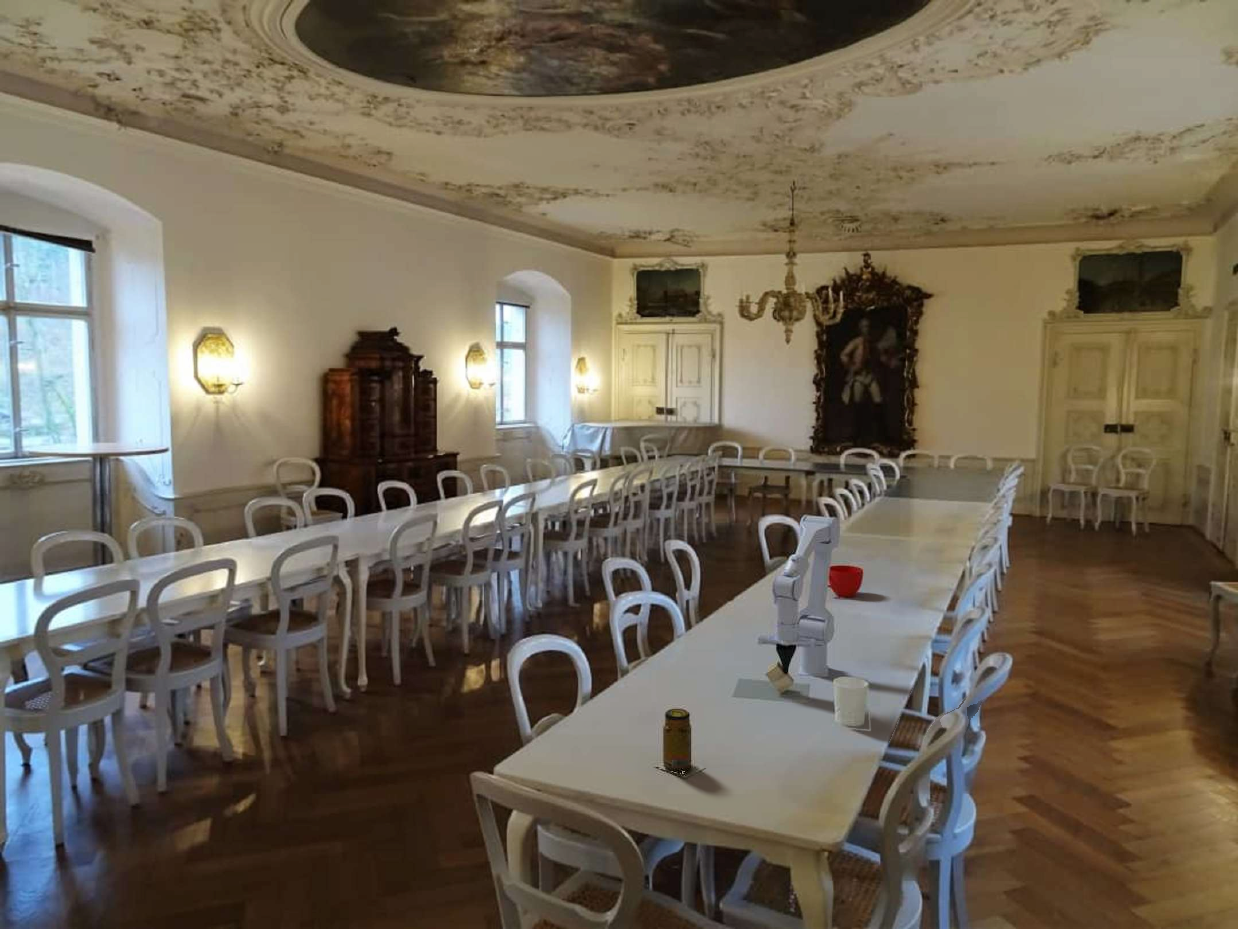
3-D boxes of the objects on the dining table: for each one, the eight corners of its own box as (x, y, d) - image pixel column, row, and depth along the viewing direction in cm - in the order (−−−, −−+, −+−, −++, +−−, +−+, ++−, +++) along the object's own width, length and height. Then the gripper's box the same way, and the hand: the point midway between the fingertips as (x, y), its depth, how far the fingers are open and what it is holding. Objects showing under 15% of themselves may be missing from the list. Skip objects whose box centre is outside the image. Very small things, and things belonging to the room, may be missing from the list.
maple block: (781, 688, 234) (766, 669, 235) (793, 680, 233) (778, 660, 234) (780, 694, 230) (764, 674, 231) (792, 685, 229) (776, 665, 230)
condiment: (675, 756, 194) (675, 704, 193) (706, 768, 189) (706, 713, 187) (653, 767, 189) (653, 713, 188) (684, 779, 183) (684, 724, 182)
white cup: (843, 730, 208) (844, 689, 207) (826, 718, 215) (827, 678, 214) (873, 726, 210) (874, 686, 209) (855, 714, 217) (856, 675, 216)
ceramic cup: (811, 593, 336) (812, 567, 335) (850, 589, 341) (851, 564, 340) (829, 601, 324) (829, 574, 323) (869, 597, 329) (870, 571, 328)
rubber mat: (739, 679, 242) (739, 678, 242) (809, 685, 237) (809, 684, 237) (732, 698, 229) (732, 696, 229) (807, 704, 224) (807, 703, 224)
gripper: (757, 624, 228) (756, 675, 229) (814, 628, 224) (813, 679, 226) (759, 616, 235) (759, 666, 236) (815, 620, 231) (814, 671, 232)
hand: (785, 672), depth 231 cm, fingers closed
